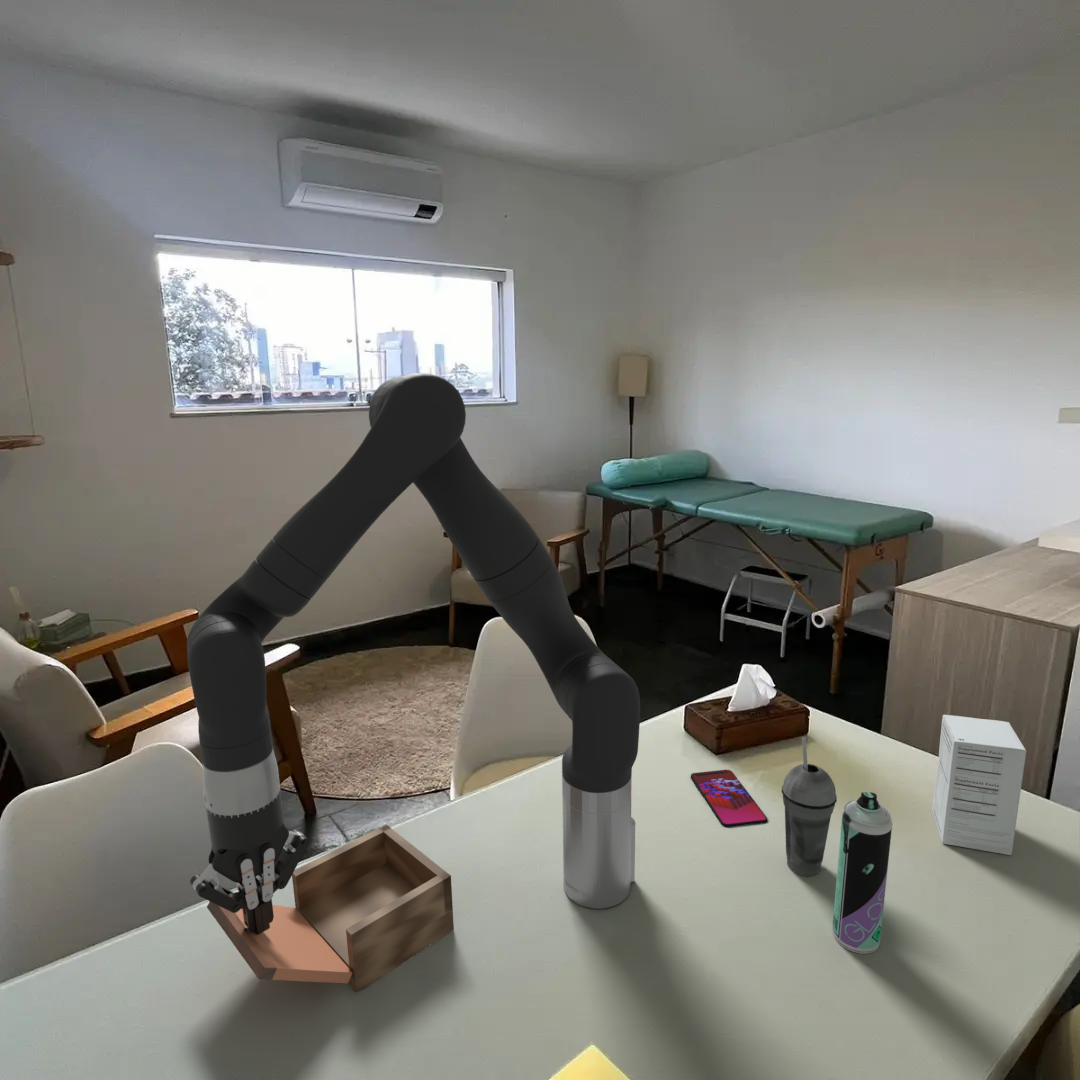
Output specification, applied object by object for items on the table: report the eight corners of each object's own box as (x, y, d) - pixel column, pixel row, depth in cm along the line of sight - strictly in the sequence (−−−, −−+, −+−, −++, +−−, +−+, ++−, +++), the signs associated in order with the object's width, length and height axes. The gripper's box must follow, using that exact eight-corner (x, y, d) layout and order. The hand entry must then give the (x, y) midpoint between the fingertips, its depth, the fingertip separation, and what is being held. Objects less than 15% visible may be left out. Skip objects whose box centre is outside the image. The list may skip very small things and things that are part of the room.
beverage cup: (835, 886, 100) (846, 754, 96) (779, 879, 102) (788, 749, 97) (826, 852, 107) (836, 727, 103) (774, 846, 109) (782, 723, 104)
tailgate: (295, 907, 94) (211, 897, 86) (352, 972, 84) (264, 967, 76) (290, 916, 94) (206, 907, 86) (347, 983, 84) (258, 979, 76)
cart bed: (390, 873, 105) (386, 824, 103) (453, 929, 94) (450, 875, 92) (297, 925, 95) (291, 871, 93) (356, 993, 85) (351, 934, 83)
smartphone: (723, 825, 113) (688, 773, 128) (722, 830, 114) (688, 777, 128) (770, 820, 115) (730, 768, 129) (769, 824, 115) (730, 773, 129)
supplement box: (1013, 857, 106) (1029, 751, 102) (941, 845, 108) (954, 741, 105) (996, 819, 114) (1010, 720, 110) (930, 808, 117) (941, 712, 113)
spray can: (858, 960, 88) (873, 812, 83) (822, 930, 93) (834, 789, 88) (889, 943, 90) (905, 799, 86) (852, 915, 95) (865, 777, 90)
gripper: (191, 834, 72) (213, 980, 76) (316, 781, 81) (329, 915, 85) (166, 803, 77) (188, 941, 82) (286, 756, 86) (300, 883, 90)
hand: (260, 927), depth 83 cm, fingers closed
